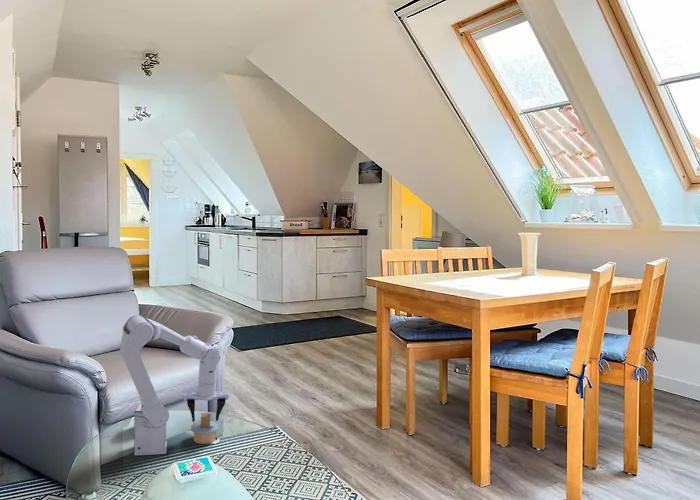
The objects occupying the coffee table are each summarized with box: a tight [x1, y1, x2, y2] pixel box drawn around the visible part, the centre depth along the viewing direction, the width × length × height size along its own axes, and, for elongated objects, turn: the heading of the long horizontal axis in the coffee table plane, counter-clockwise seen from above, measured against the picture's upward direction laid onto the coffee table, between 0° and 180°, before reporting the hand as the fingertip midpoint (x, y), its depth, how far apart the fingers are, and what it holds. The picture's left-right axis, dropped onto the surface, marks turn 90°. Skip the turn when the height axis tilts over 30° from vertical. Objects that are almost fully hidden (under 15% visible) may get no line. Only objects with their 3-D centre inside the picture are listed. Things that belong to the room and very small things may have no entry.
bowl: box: [192, 431, 217, 445], centre depth 195 cm, size 7×7×4 cm
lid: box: [190, 412, 220, 435], centre depth 194 cm, size 9×9×5 cm
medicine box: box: [133, 402, 145, 436], centre depth 197 cm, size 8×4×9 cm, turn 5°
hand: (205, 420), depth 194 cm, fingers open, 7 cm apart
